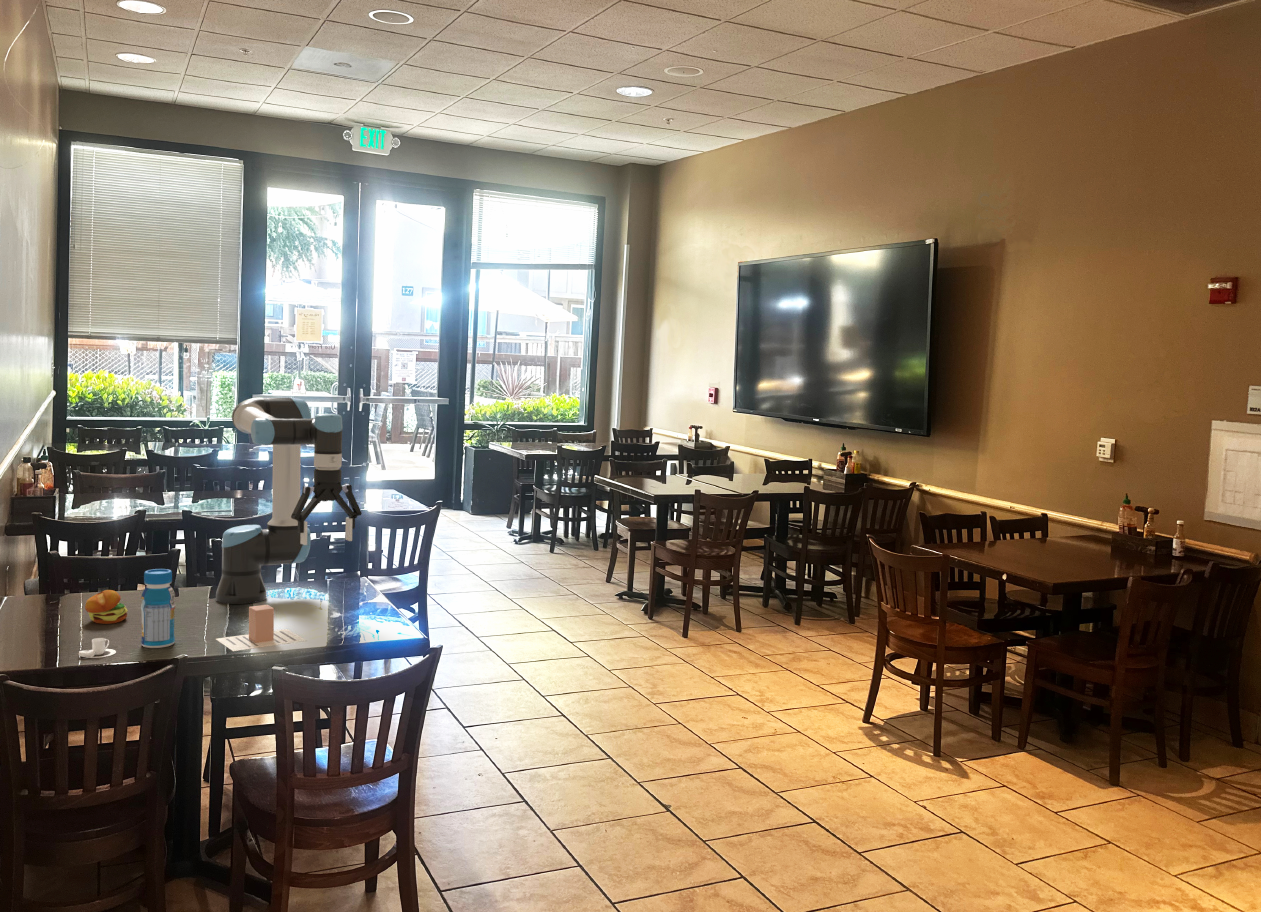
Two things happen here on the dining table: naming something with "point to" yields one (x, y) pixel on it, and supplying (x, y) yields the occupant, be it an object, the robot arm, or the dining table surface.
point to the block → (261, 623)
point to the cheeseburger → (106, 607)
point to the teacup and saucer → (97, 649)
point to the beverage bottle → (157, 609)
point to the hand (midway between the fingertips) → (326, 542)
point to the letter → (245, 643)
